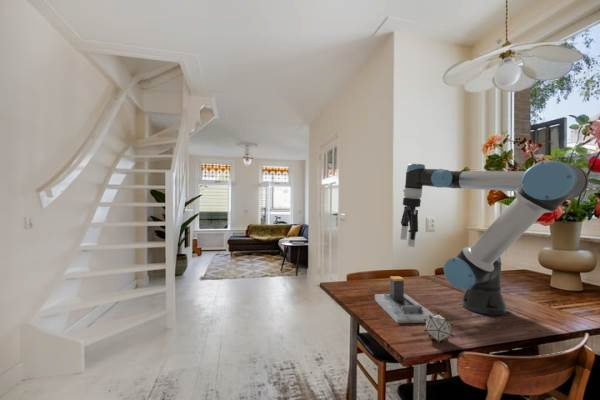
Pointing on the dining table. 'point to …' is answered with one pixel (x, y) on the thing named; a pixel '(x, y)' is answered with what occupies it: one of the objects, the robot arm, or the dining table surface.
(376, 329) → the dining table surface
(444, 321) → the game die
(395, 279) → the fader knob
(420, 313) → the fader console
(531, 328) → the dining table surface
